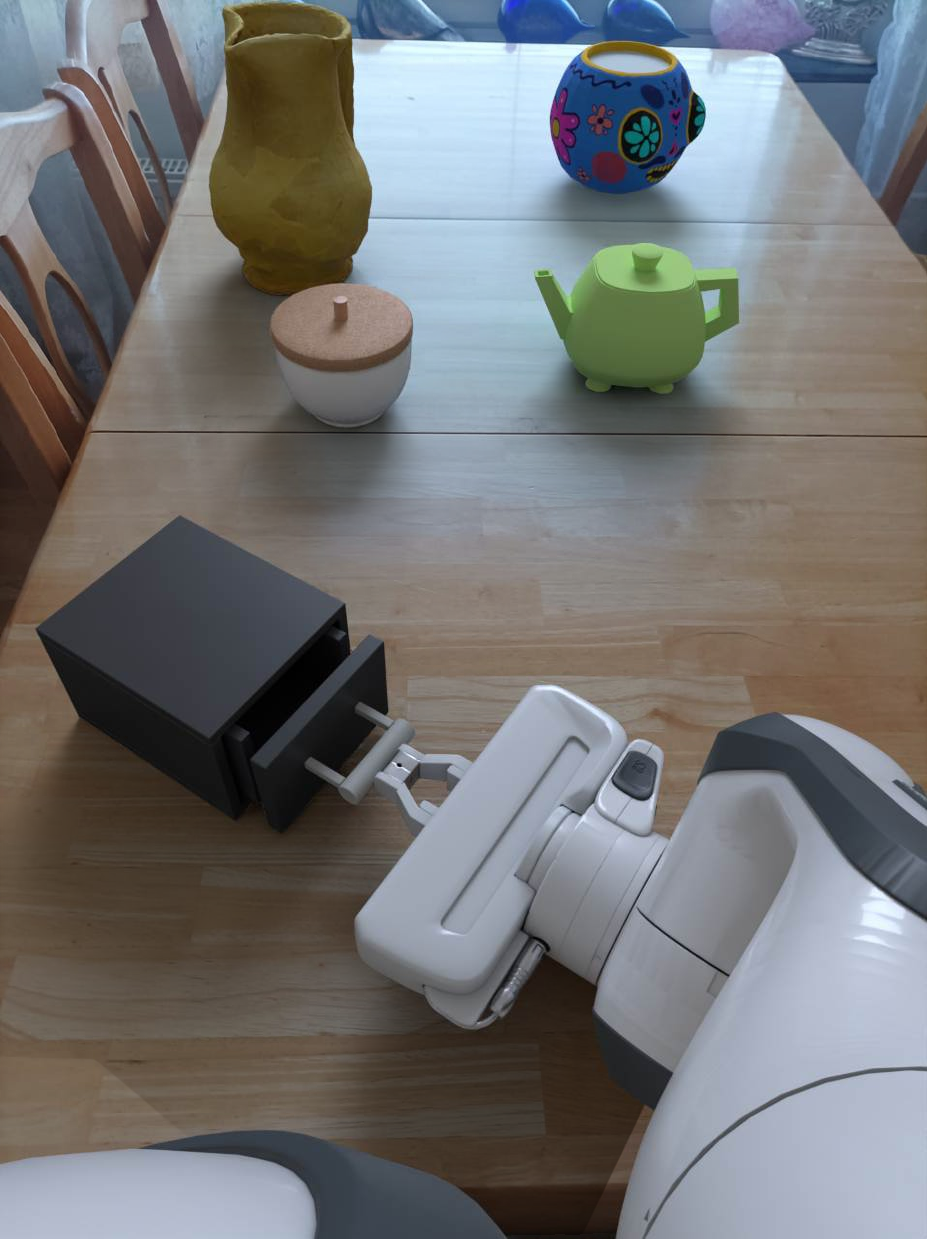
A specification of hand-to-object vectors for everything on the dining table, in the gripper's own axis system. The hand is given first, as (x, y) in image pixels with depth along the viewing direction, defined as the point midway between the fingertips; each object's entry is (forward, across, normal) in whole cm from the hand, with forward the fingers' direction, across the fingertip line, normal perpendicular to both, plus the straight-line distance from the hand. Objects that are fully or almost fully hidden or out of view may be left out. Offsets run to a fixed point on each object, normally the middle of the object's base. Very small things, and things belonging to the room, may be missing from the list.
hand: (387, 765), depth 57 cm
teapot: (+10, +54, -6) cm, 55 cm away
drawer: (+9, 0, -5) cm, 10 cm away
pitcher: (+49, +51, -6) cm, 71 cm away
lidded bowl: (+29, +33, -6) cm, 44 cm away
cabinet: (+15, 0, -6) cm, 16 cm away
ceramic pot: (+30, +90, -6) cm, 95 cm away
